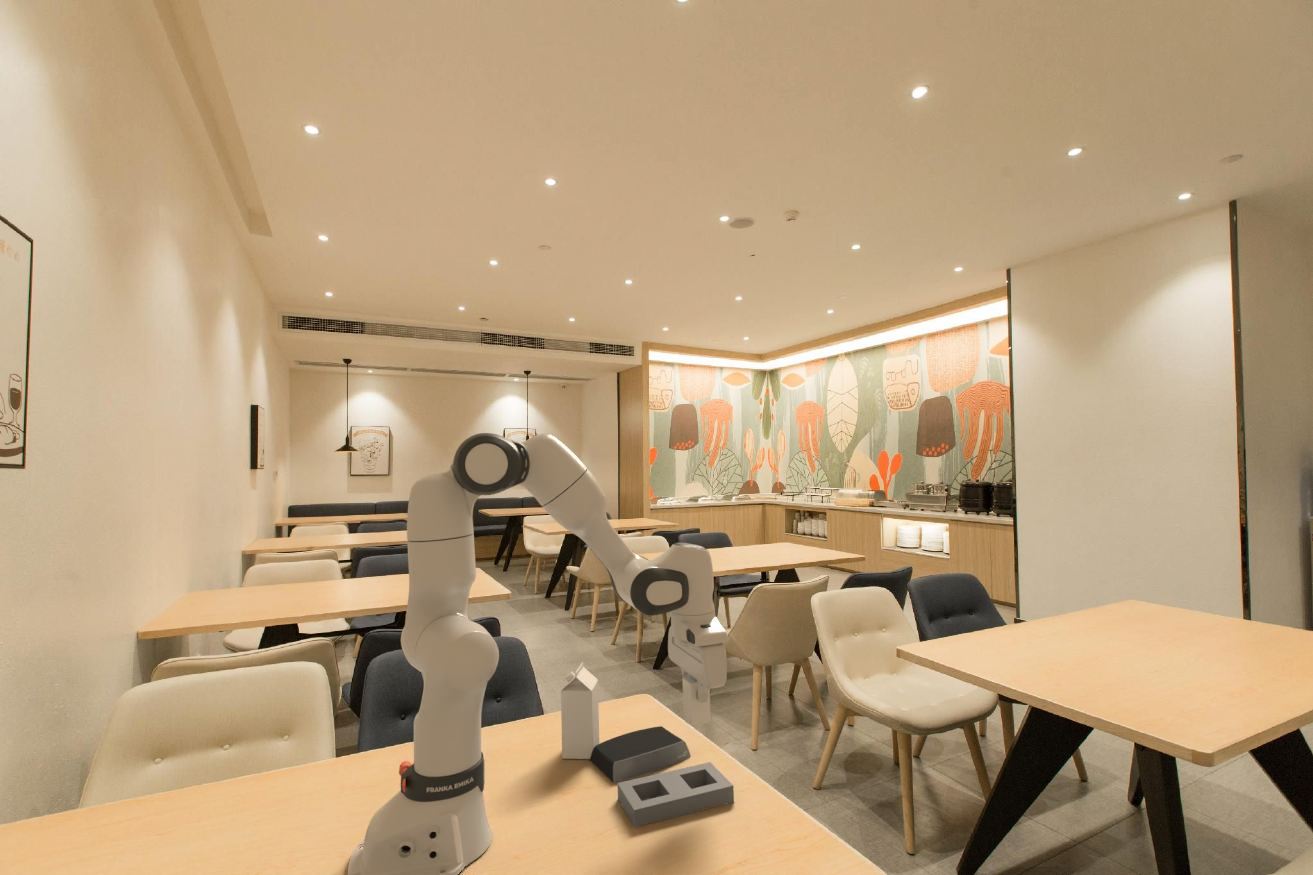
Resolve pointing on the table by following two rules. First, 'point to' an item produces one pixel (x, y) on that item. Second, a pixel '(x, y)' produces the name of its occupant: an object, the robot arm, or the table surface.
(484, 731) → the table surface
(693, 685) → the plug
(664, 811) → the socket panel
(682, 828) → the table surface
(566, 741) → the milk carton
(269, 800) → the table surface
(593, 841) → the table surface
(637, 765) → the external hard drive
